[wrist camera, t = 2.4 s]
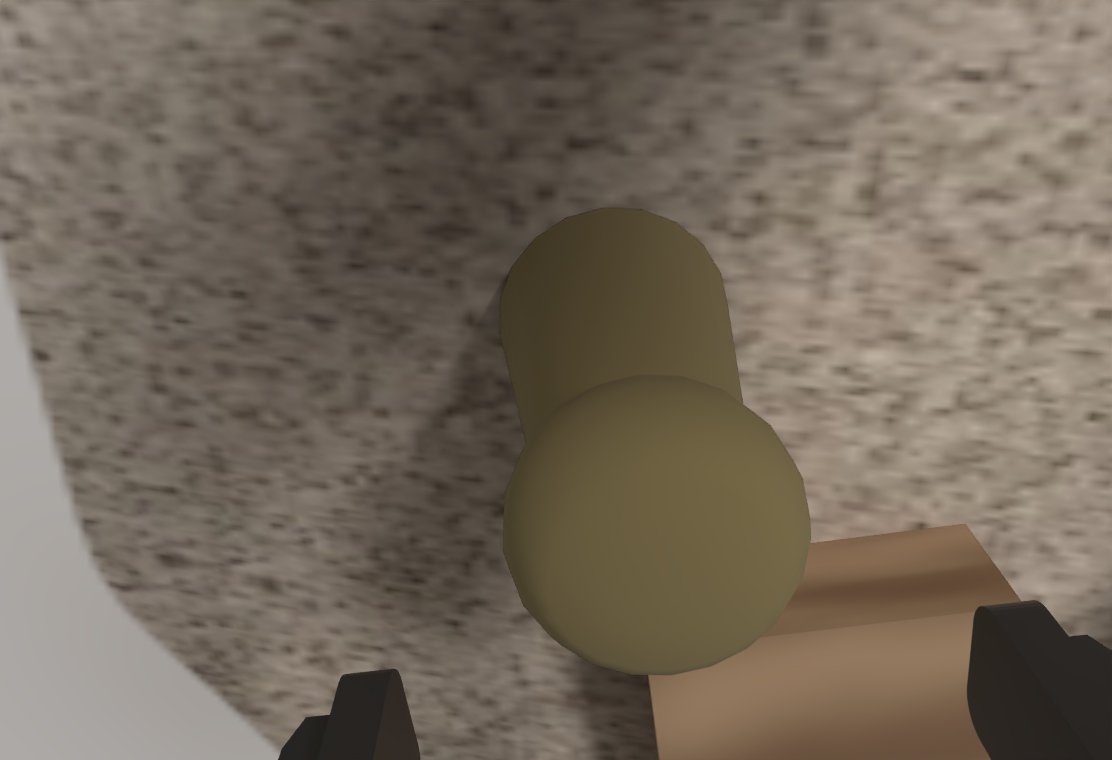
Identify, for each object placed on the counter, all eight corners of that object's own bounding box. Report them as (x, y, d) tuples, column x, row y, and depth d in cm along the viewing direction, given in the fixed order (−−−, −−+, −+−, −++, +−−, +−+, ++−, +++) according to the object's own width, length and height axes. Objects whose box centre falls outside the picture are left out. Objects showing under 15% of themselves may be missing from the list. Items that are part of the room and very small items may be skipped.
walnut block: (631, 558, 28) (645, 651, 24) (961, 517, 27) (1024, 605, 24) (660, 782, 32) (676, 889, 29) (944, 750, 32) (996, 855, 28)
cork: (481, 400, 25) (444, 708, 15) (521, 186, 22) (507, 387, 12) (693, 435, 25) (793, 754, 16) (756, 231, 23) (923, 457, 13)
